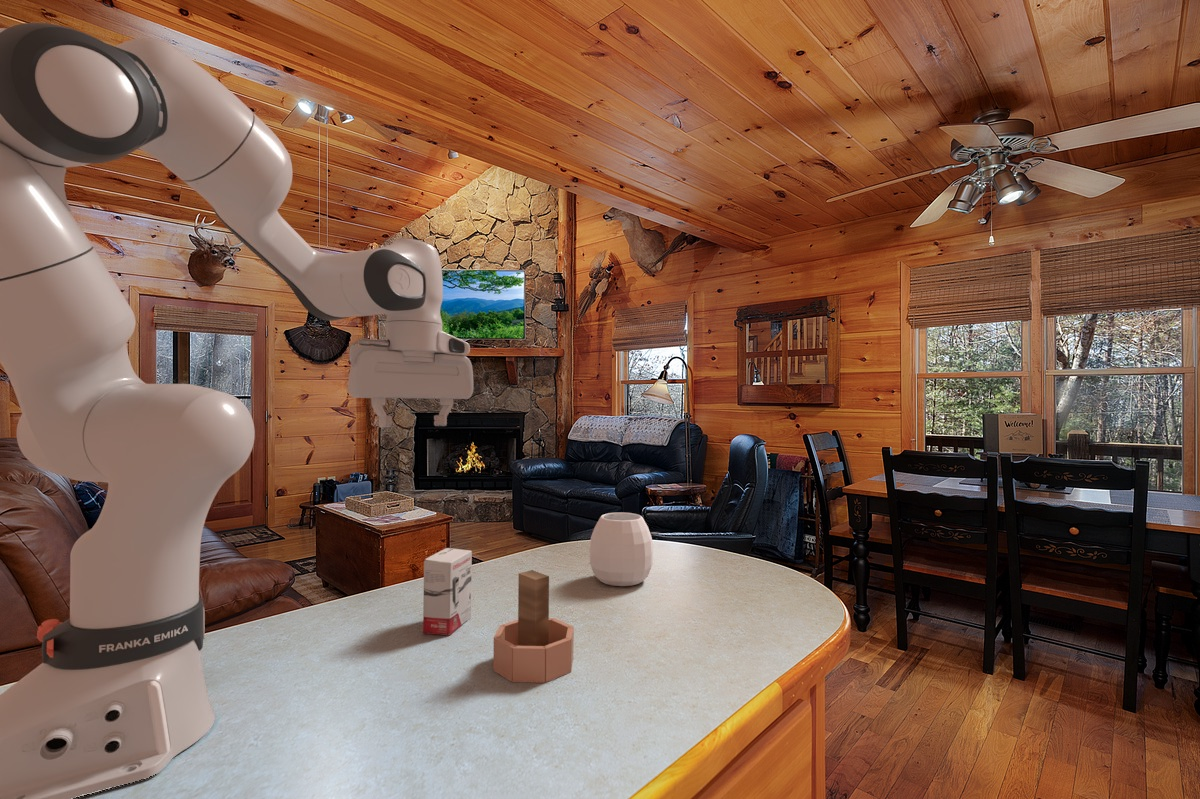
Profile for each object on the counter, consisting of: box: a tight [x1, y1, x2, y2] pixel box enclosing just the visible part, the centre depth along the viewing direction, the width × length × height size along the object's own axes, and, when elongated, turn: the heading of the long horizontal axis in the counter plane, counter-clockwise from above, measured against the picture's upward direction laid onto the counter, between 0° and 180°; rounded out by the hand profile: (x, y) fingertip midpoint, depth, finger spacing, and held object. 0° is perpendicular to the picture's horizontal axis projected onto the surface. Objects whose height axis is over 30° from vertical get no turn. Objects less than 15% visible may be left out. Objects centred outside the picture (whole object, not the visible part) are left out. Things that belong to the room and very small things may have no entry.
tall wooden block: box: [517, 569, 550, 646], centre depth 82 cm, size 2×4×12 cm, turn 44°
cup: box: [589, 511, 654, 587], centre depth 120 cm, size 13×13×14 cm
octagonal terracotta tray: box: [493, 617, 575, 684], centre depth 82 cm, size 11×11×4 cm
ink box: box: [422, 547, 473, 636], centre depth 96 cm, size 9×5×12 cm, turn 168°
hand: (413, 426), depth 94 cm, fingers open, 8 cm apart
